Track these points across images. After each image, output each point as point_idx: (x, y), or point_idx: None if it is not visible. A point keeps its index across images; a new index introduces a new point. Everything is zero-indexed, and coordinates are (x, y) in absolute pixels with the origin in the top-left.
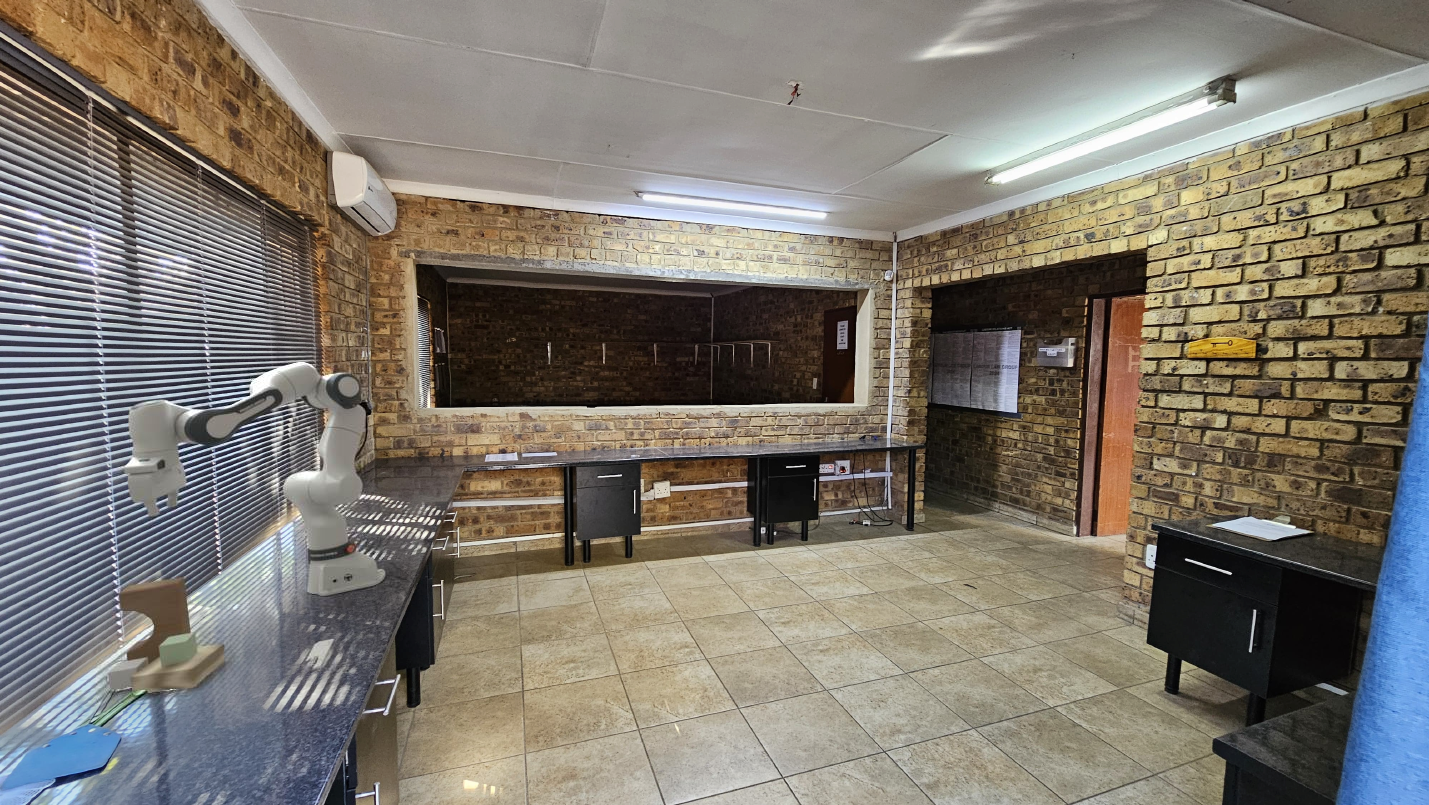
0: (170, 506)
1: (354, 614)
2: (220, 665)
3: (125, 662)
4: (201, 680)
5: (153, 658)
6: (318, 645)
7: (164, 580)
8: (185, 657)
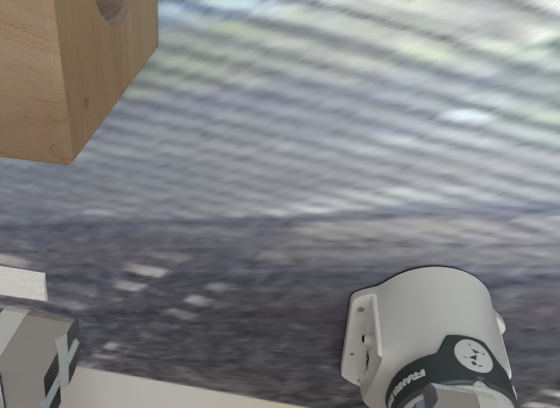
0: (423, 399)
1: (176, 331)
2: None
3: None
4: None
5: None
6: (20, 281)
7: (46, 104)
8: None
